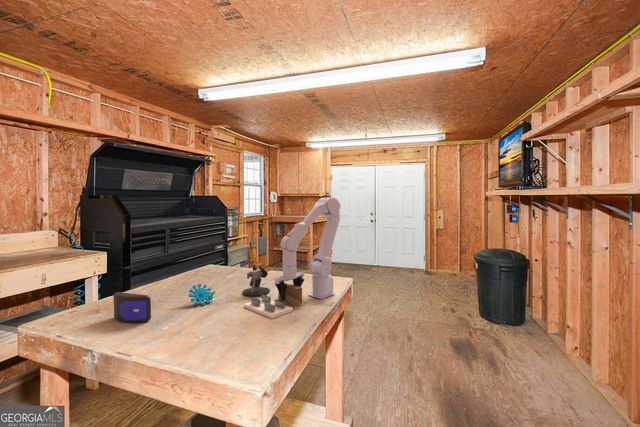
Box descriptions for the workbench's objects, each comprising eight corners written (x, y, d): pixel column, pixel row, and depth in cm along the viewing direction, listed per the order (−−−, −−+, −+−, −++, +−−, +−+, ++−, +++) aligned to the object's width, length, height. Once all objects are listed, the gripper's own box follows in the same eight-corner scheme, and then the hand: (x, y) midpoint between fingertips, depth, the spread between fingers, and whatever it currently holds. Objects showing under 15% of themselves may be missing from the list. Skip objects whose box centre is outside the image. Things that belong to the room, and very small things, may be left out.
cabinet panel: (264, 300, 124) (264, 297, 124) (292, 311, 112) (292, 308, 112) (244, 306, 117) (243, 303, 117) (271, 318, 105) (271, 315, 104)
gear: (191, 305, 115) (187, 283, 121) (186, 312, 118) (183, 291, 124) (218, 302, 122) (214, 282, 128) (213, 309, 125) (209, 289, 131)
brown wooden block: (284, 297, 128) (284, 281, 128) (303, 303, 120) (303, 287, 120) (278, 299, 126) (278, 283, 126) (297, 306, 118) (297, 289, 117)
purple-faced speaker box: (105, 320, 104) (104, 294, 104) (117, 316, 109) (117, 291, 108) (141, 326, 99) (140, 298, 99) (152, 320, 104) (151, 294, 104)
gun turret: (283, 287, 144) (282, 261, 144) (257, 299, 126) (257, 269, 126) (262, 284, 150) (261, 259, 149) (235, 295, 132) (234, 267, 131)
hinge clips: (263, 300, 121) (263, 294, 121) (285, 308, 112) (285, 301, 112) (251, 303, 117) (250, 297, 117) (272, 312, 107) (272, 306, 107)
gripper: (296, 261, 130) (296, 291, 131) (269, 266, 120) (270, 299, 120) (307, 263, 125) (307, 294, 126) (280, 269, 115) (281, 303, 115)
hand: (289, 297), depth 123 cm, fingers open, 7 cm apart
